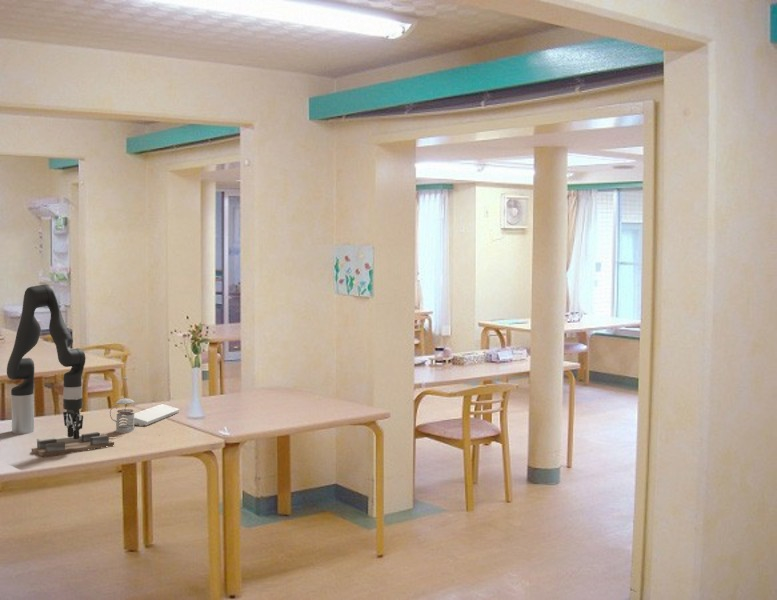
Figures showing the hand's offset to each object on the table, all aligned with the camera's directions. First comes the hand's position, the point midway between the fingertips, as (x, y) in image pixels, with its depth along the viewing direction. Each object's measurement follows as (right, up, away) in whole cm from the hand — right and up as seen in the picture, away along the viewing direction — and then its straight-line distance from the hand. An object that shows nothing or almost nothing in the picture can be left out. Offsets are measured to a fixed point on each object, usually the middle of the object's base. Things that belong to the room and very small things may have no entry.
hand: (73, 437), depth 369 cm
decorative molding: (+22, -1, +62) cm, 66 cm away
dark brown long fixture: (0, -5, 0) cm, 5 cm away
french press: (+10, -3, +36) cm, 37 cm away
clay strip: (-6, -3, +4) cm, 8 cm away
